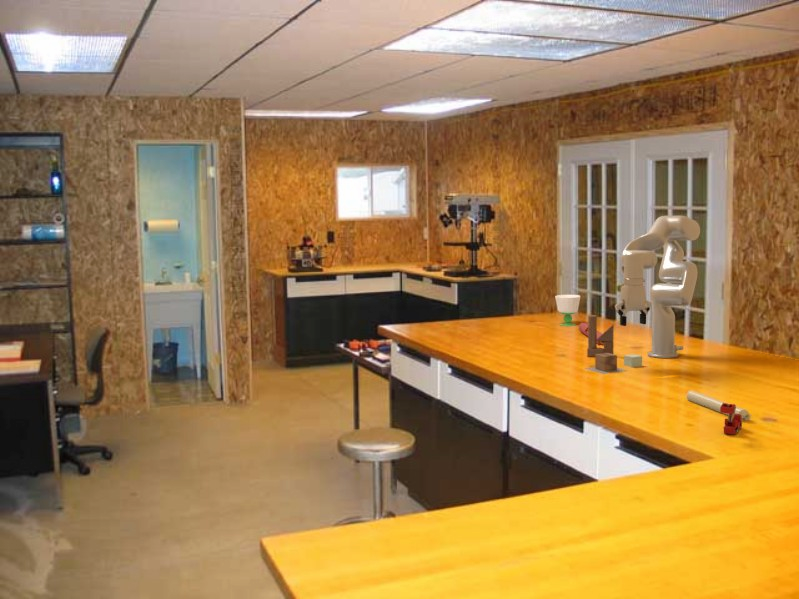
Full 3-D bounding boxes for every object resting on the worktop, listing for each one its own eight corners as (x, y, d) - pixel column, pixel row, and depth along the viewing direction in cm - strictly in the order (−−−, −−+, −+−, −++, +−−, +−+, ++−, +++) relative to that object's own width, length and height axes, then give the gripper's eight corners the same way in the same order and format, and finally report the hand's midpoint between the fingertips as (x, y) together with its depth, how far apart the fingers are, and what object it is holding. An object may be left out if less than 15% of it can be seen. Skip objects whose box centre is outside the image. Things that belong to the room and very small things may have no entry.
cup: (555, 326, 450) (555, 297, 448) (554, 322, 463) (554, 294, 461) (581, 326, 447) (581, 297, 445) (579, 322, 461) (580, 294, 459)
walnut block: (607, 367, 336) (607, 352, 335) (616, 370, 330) (617, 355, 329) (595, 368, 333) (595, 354, 333) (604, 371, 328) (604, 356, 327)
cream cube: (634, 366, 341) (634, 354, 341) (642, 368, 337) (642, 356, 336) (624, 367, 339) (624, 355, 339) (631, 369, 335) (632, 357, 334)
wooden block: (612, 357, 359) (612, 316, 357) (587, 356, 363) (587, 316, 361) (613, 356, 363) (613, 315, 360) (588, 355, 367) (588, 314, 365)
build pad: (609, 367, 339) (609, 365, 339) (627, 372, 328) (627, 370, 328) (584, 370, 335) (584, 368, 335) (602, 375, 324) (602, 373, 324)
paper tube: (743, 423, 253) (743, 412, 253) (686, 401, 282) (686, 390, 282) (753, 422, 254) (754, 410, 254) (695, 400, 283) (695, 389, 282)
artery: (608, 346, 390) (608, 335, 389) (597, 346, 390) (597, 335, 389) (588, 332, 431) (588, 322, 431) (578, 332, 431) (578, 322, 431)
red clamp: (742, 427, 248) (743, 396, 246) (731, 439, 236) (732, 406, 235) (731, 426, 250) (731, 394, 248) (719, 437, 238) (720, 404, 237)
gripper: (644, 280, 341) (644, 322, 342) (610, 283, 334) (609, 325, 336) (657, 282, 334) (656, 324, 336) (621, 284, 327) (621, 327, 329)
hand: (633, 324), depth 336 cm, fingers open, 9 cm apart
